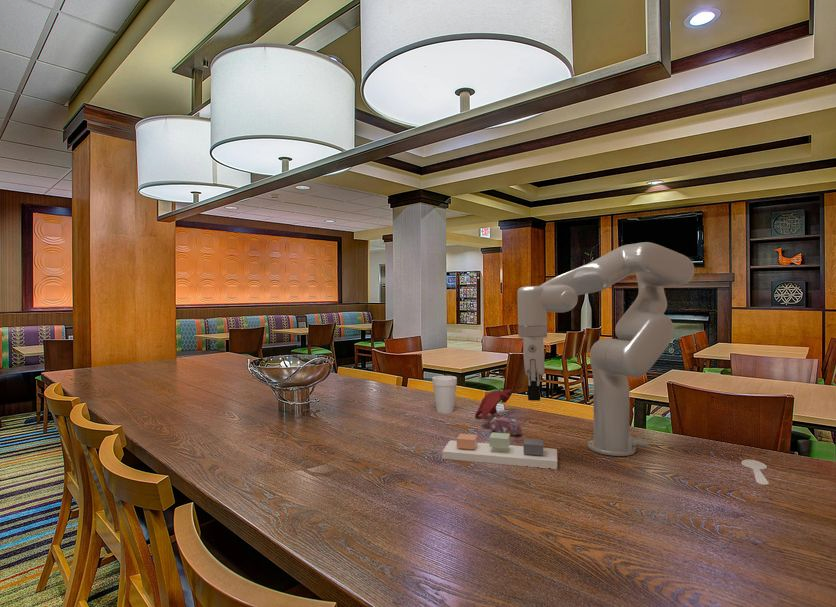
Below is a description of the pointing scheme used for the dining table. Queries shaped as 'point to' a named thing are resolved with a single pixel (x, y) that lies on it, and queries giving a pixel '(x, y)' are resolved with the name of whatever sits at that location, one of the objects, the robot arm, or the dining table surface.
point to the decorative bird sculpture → (492, 402)
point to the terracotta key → (467, 441)
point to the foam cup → (444, 393)
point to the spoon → (756, 470)
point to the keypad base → (501, 455)
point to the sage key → (499, 440)
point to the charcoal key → (533, 446)
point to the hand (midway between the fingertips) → (534, 399)
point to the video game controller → (505, 425)
